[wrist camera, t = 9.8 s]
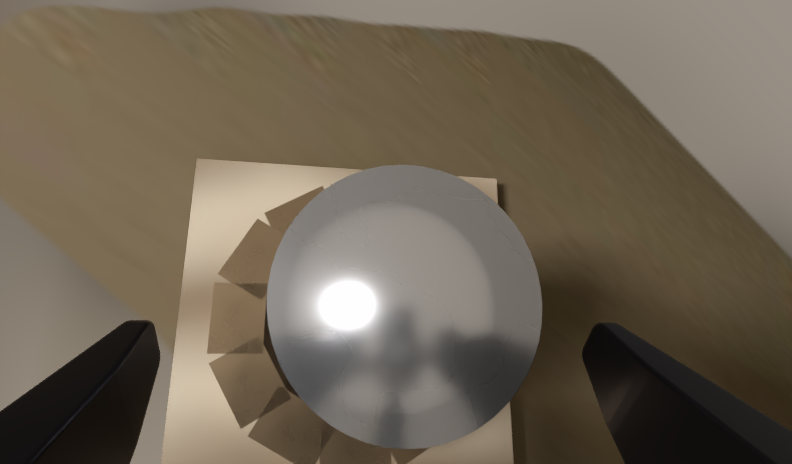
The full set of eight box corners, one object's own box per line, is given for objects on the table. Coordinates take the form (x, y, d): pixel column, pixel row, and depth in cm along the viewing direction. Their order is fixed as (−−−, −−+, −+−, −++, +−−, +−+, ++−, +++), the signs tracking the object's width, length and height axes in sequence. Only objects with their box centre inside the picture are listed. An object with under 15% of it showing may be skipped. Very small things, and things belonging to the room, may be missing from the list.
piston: (423, 347, 19) (592, 359, 7) (324, 401, 18) (343, 518, 6) (376, 251, 19) (464, 125, 8) (277, 297, 18) (214, 226, 7)
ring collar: (470, 445, 18) (499, 465, 15) (215, 457, 16) (194, 482, 14) (461, 213, 21) (484, 193, 18) (238, 202, 19) (224, 177, 16)
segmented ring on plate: (507, 486, 19) (515, 493, 18) (161, 508, 16) (154, 517, 16) (490, 184, 22) (496, 178, 21) (201, 165, 20) (197, 158, 19)
